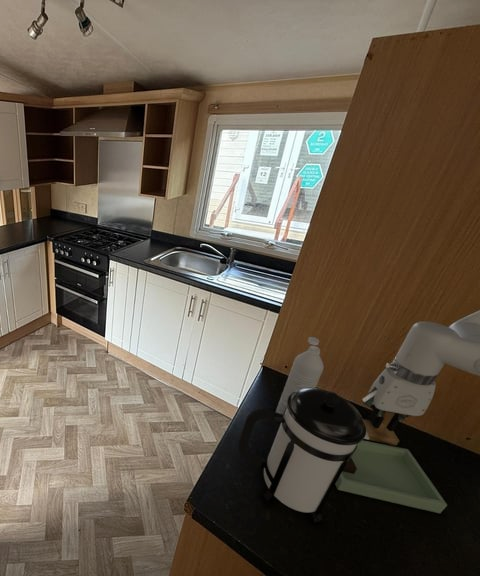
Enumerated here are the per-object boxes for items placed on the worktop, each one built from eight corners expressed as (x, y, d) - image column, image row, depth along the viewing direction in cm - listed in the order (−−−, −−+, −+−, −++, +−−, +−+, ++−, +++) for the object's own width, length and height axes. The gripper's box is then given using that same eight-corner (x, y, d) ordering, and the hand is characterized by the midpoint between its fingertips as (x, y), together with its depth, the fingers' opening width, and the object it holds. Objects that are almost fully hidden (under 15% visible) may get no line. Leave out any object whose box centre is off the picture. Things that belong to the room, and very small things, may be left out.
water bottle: (301, 430, 86) (331, 359, 75) (274, 421, 89) (300, 351, 78) (299, 408, 93) (328, 340, 82) (275, 400, 96) (299, 333, 85)
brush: (383, 433, 85) (400, 405, 81) (393, 449, 81) (412, 421, 76) (352, 426, 87) (367, 399, 82) (361, 442, 83) (377, 414, 78)
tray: (402, 457, 79) (408, 449, 78) (440, 513, 68) (447, 505, 66) (316, 439, 84) (320, 431, 82) (337, 489, 72) (342, 481, 71)
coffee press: (287, 450, 81) (325, 359, 68) (345, 516, 67) (407, 417, 54) (229, 466, 77) (257, 372, 64) (277, 539, 63) (326, 438, 50)
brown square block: (346, 459, 78) (349, 453, 77) (354, 474, 75) (357, 468, 74) (328, 455, 79) (331, 450, 78) (335, 469, 76) (338, 464, 75)
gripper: (381, 375, 72) (351, 430, 80) (466, 389, 69) (426, 444, 77) (365, 355, 79) (339, 408, 87) (442, 366, 75) (407, 420, 83)
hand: (380, 424), depth 82 cm, fingers closed on brush, 2 cm apart
